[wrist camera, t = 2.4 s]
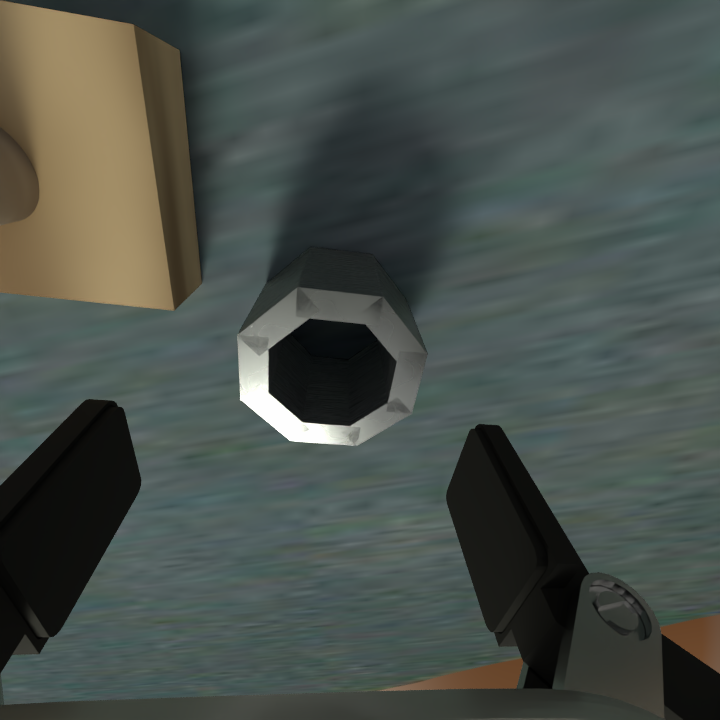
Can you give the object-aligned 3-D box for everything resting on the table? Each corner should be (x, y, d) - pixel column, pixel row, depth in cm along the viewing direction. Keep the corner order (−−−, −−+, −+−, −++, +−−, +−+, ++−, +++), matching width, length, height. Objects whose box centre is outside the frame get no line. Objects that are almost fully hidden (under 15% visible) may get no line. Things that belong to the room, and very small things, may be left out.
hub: (415, 259, 16) (441, 303, 11) (389, 380, 19) (402, 449, 15) (265, 240, 15) (234, 279, 11) (265, 369, 18) (241, 437, 14)
